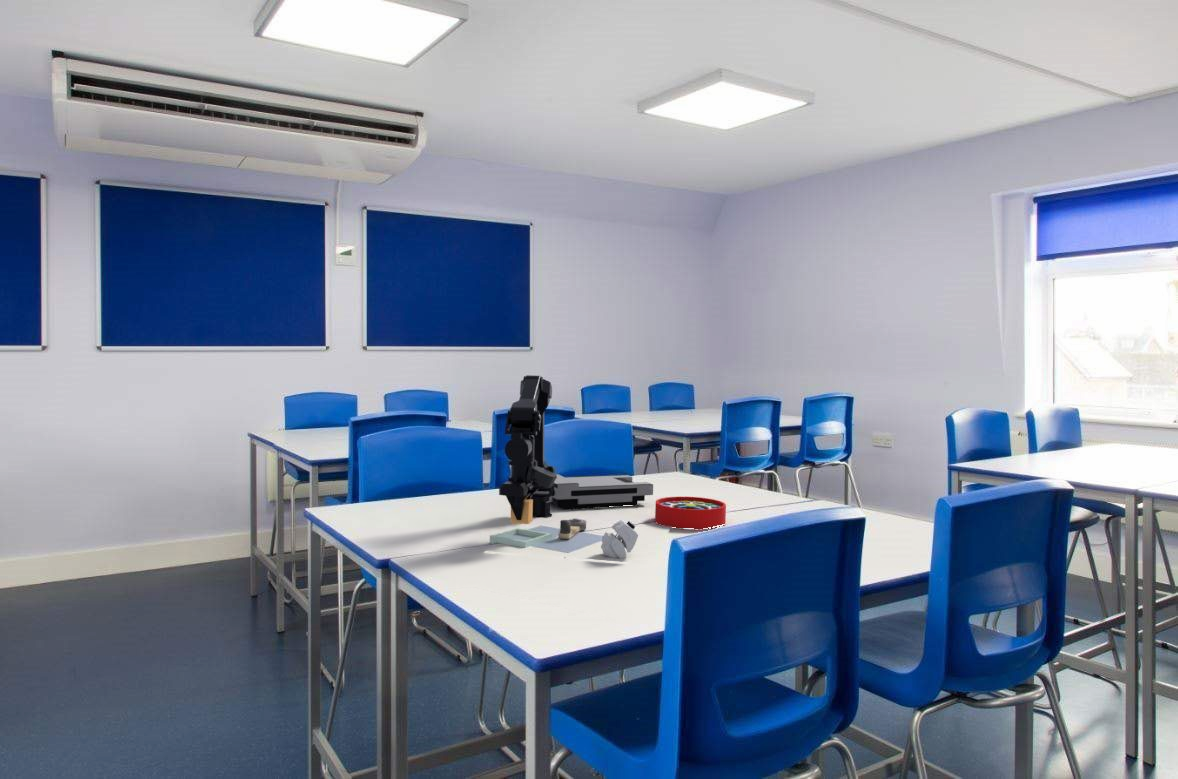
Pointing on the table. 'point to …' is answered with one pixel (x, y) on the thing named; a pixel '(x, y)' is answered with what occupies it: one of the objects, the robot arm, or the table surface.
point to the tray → (502, 539)
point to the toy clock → (690, 512)
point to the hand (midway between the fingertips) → (521, 518)
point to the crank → (571, 527)
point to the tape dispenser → (619, 540)
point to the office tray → (598, 491)
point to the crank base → (561, 540)
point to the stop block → (524, 513)
